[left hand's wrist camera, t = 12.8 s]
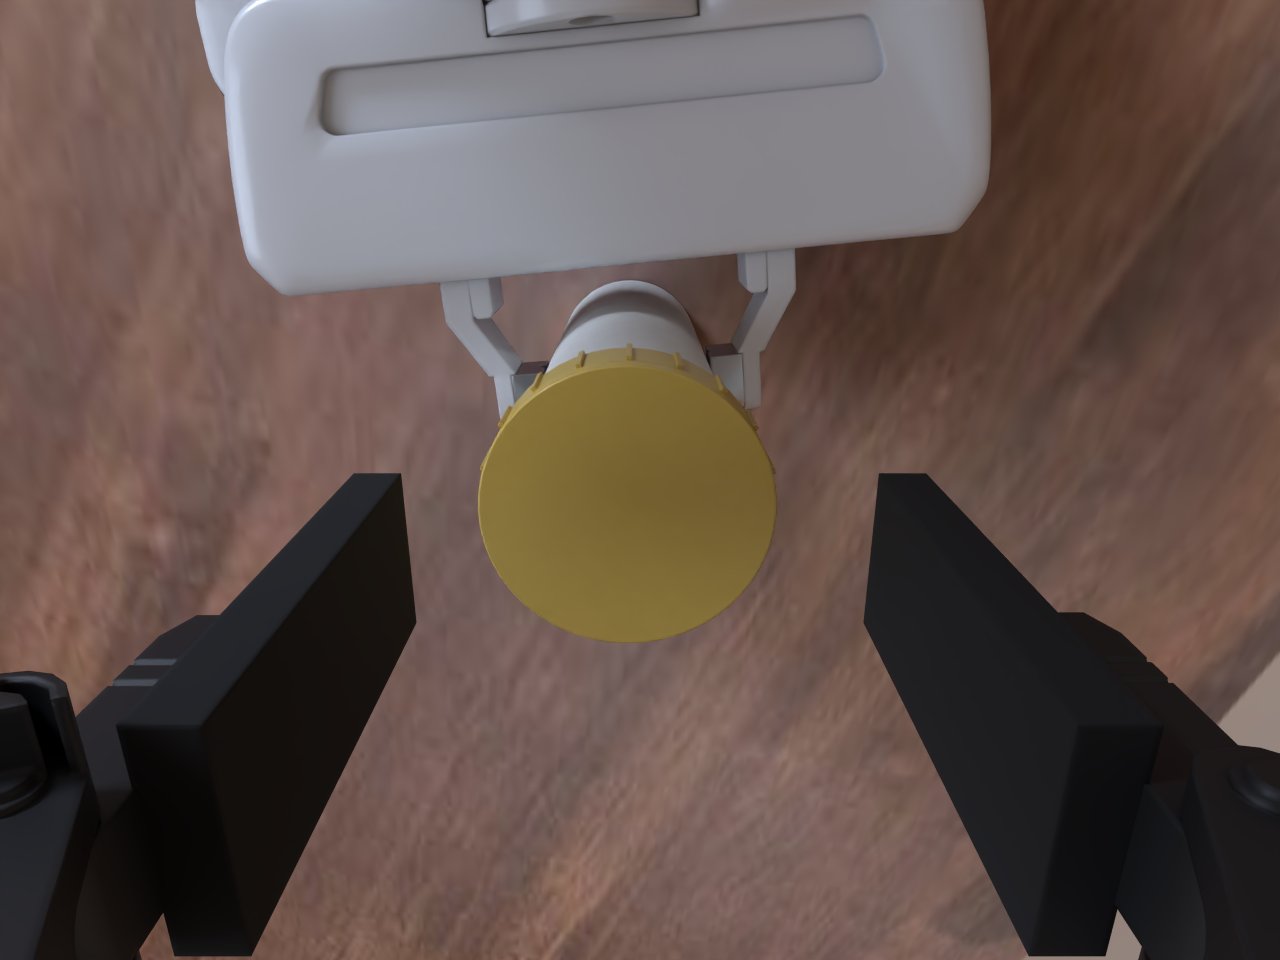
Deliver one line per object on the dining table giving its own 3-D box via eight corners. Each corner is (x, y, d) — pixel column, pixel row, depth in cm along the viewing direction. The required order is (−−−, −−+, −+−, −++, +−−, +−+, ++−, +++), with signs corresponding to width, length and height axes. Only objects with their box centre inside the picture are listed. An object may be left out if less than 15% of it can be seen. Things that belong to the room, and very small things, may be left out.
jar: (618, 251, 31) (605, 324, 15) (722, 337, 32) (807, 485, 16) (537, 357, 32) (449, 523, 17) (640, 436, 33) (647, 660, 18)
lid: (603, 281, 16) (600, 293, 15) (824, 459, 18) (845, 489, 16) (434, 500, 18) (414, 534, 16) (649, 650, 19) (651, 696, 17)
